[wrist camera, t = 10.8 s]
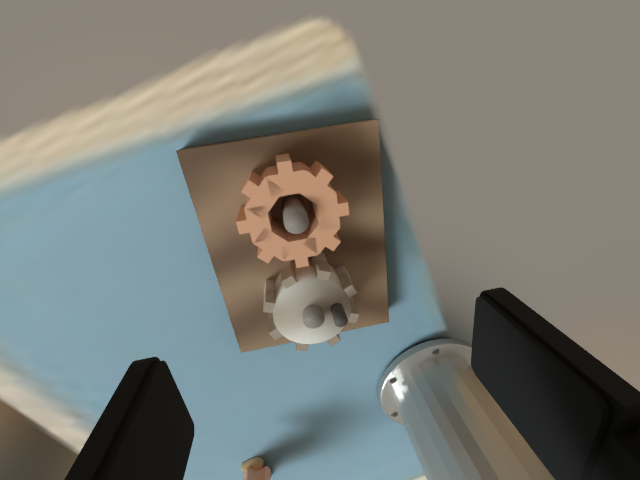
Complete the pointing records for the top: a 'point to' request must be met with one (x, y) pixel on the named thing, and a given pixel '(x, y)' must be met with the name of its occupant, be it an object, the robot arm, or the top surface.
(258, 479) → the grandmother figurine
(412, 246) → the top surface
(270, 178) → the terracotta gear
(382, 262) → the gear board
